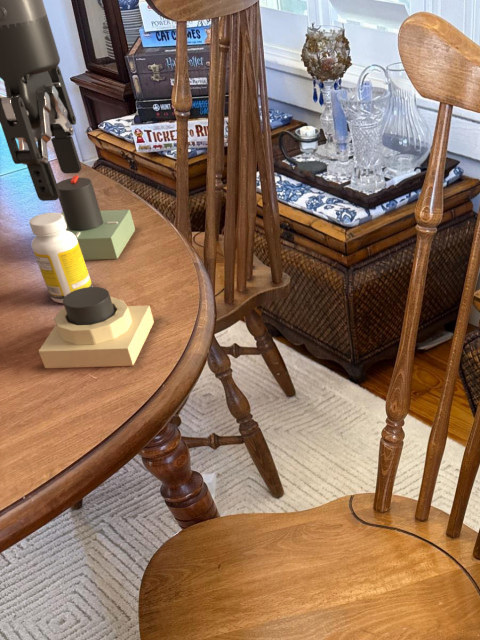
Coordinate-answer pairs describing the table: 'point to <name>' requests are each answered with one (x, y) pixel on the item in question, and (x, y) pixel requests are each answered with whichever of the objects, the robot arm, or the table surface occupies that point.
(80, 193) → the dial
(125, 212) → the dial panel
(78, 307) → the button
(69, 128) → the robot arm
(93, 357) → the button base
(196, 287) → the table surface
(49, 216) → the supplement bottle
